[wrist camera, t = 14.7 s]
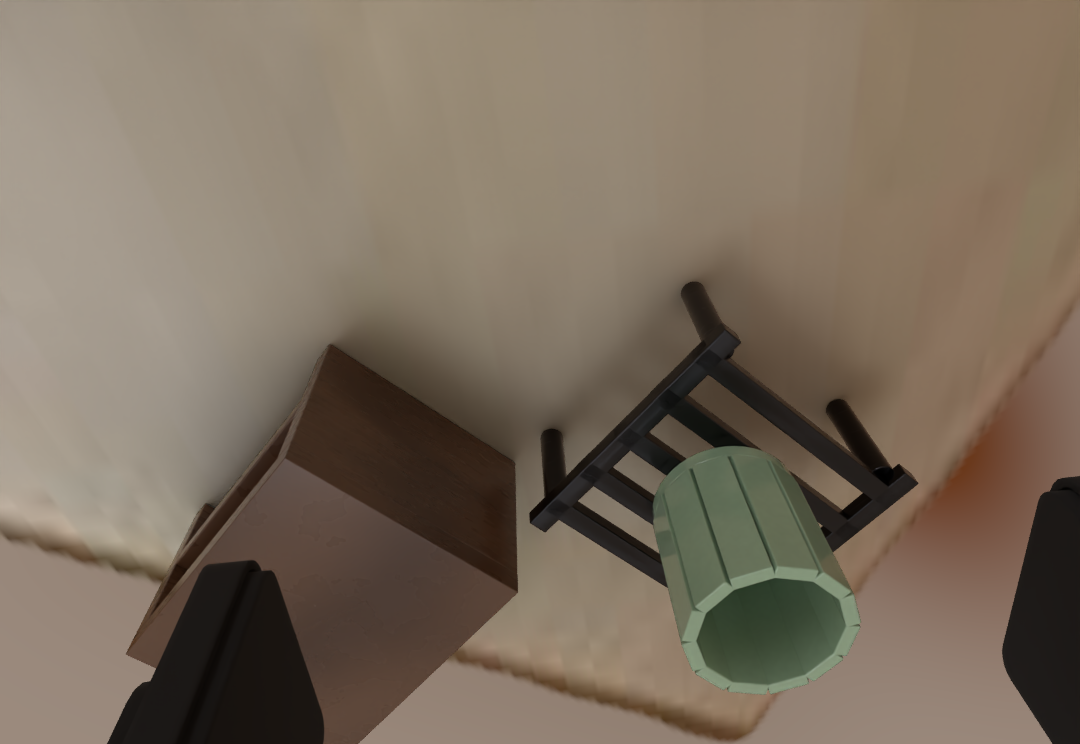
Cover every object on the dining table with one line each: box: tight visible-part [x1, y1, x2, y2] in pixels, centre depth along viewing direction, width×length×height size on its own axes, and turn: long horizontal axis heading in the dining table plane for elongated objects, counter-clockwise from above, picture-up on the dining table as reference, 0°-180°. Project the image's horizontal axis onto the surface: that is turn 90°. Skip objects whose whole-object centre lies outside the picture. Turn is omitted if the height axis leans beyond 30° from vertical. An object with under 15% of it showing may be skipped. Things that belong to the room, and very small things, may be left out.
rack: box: [529, 282, 918, 588], centre depth 42 cm, size 13×13×7 cm
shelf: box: [126, 345, 518, 744], centre depth 42 cm, size 12×14×10 cm
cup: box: [652, 446, 861, 695], centre depth 36 cm, size 7×7×8 cm
